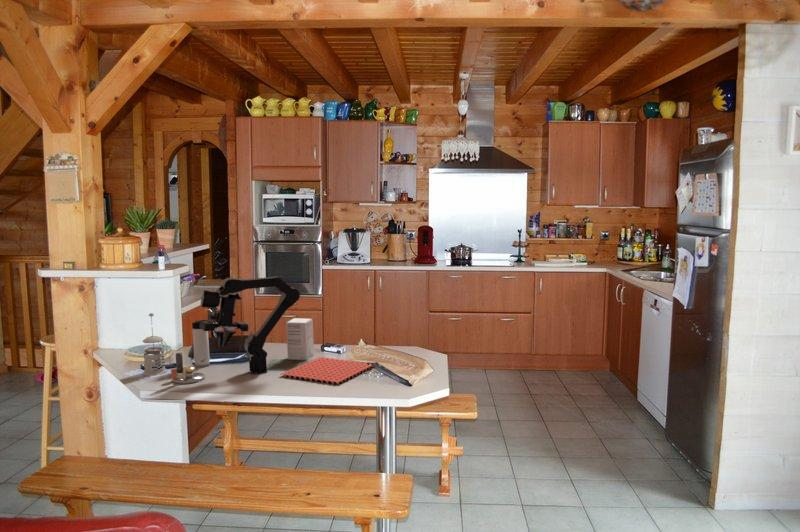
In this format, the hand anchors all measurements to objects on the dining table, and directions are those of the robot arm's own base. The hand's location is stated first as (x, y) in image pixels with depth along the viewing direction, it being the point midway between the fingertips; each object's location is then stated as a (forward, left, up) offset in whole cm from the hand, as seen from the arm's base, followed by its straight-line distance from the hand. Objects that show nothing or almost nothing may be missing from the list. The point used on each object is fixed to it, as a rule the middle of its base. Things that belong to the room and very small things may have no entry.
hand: (221, 347), depth 244 cm
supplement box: (-32, -20, -12) cm, 40 cm away
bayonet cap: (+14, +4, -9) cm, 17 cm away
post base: (+13, +2, -12) cm, 18 cm away
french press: (+28, -14, -12) cm, 34 cm away
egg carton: (-42, +7, -13) cm, 44 cm away
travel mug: (+10, -18, -12) cm, 24 cm away
